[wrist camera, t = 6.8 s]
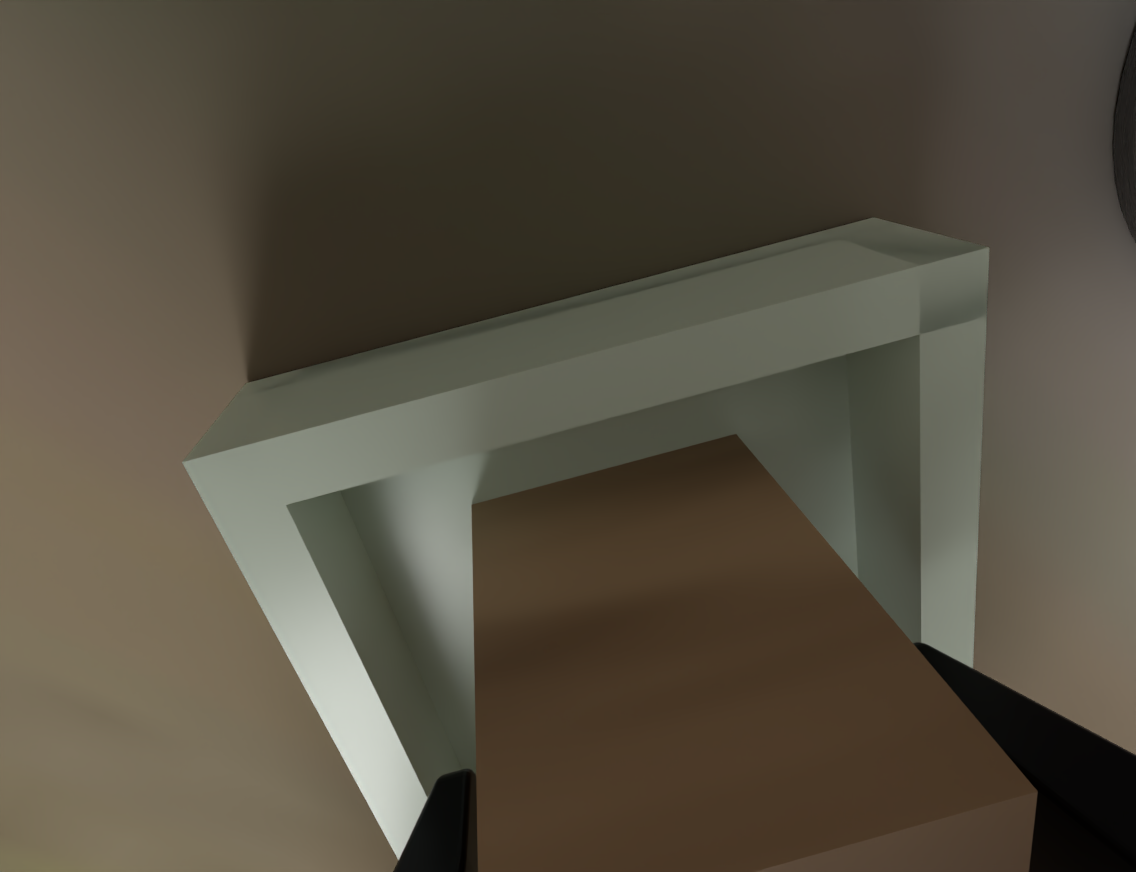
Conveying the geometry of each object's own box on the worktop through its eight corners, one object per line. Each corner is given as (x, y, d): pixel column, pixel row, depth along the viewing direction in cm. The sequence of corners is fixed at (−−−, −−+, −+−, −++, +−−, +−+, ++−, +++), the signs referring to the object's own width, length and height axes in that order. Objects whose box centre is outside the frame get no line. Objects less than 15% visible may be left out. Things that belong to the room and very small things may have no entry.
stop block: (763, 637, 12) (1007, 1065, 7) (537, 699, 12) (599, 1187, 7) (735, 433, 10) (1037, 791, 5) (471, 504, 10) (479, 949, 5)
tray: (889, 679, 14) (967, 785, 12) (443, 804, 14) (439, 936, 11) (873, 217, 10) (988, 247, 8) (246, 383, 10) (181, 461, 7)
